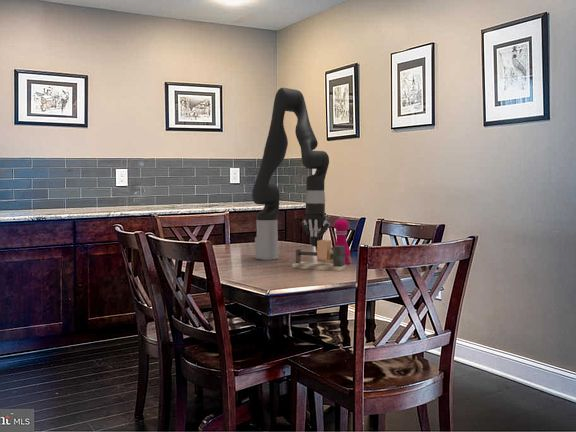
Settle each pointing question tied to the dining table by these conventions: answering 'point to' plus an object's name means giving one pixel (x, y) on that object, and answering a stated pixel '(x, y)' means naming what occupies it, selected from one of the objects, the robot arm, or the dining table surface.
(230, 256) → the dining table surface
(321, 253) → the marker sleeve
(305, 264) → the cord stand
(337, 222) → the pepper mill
